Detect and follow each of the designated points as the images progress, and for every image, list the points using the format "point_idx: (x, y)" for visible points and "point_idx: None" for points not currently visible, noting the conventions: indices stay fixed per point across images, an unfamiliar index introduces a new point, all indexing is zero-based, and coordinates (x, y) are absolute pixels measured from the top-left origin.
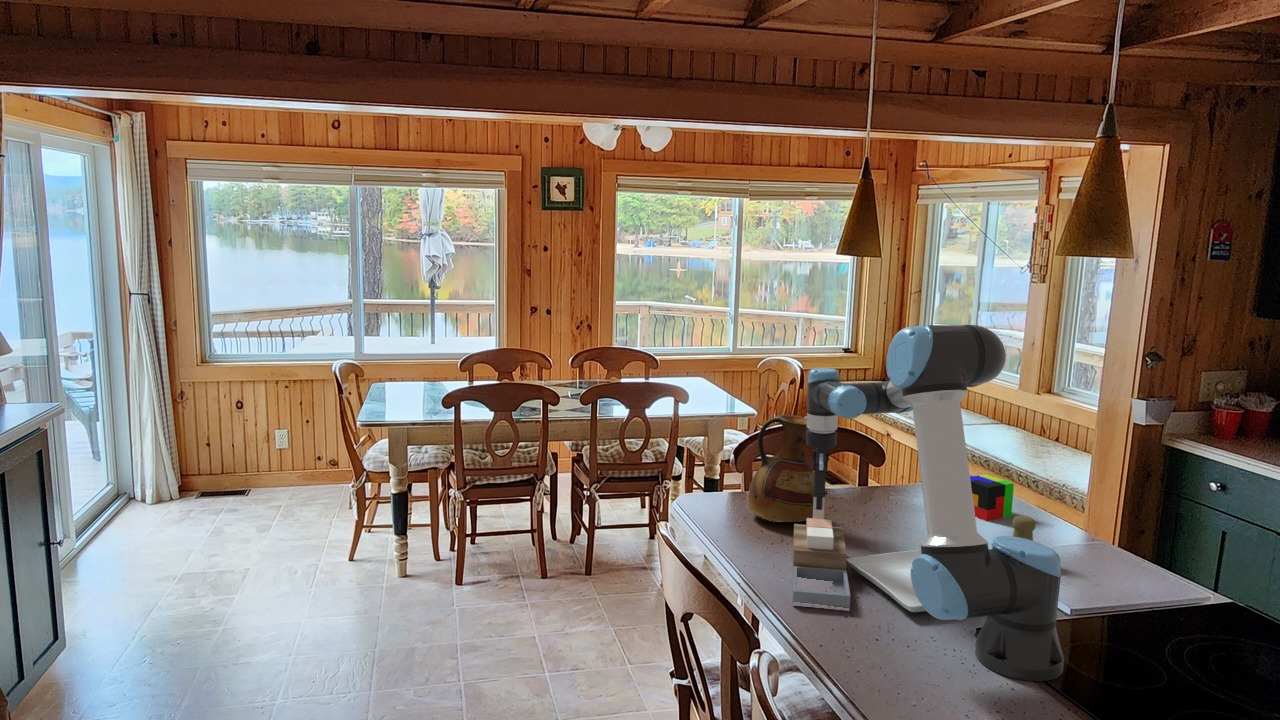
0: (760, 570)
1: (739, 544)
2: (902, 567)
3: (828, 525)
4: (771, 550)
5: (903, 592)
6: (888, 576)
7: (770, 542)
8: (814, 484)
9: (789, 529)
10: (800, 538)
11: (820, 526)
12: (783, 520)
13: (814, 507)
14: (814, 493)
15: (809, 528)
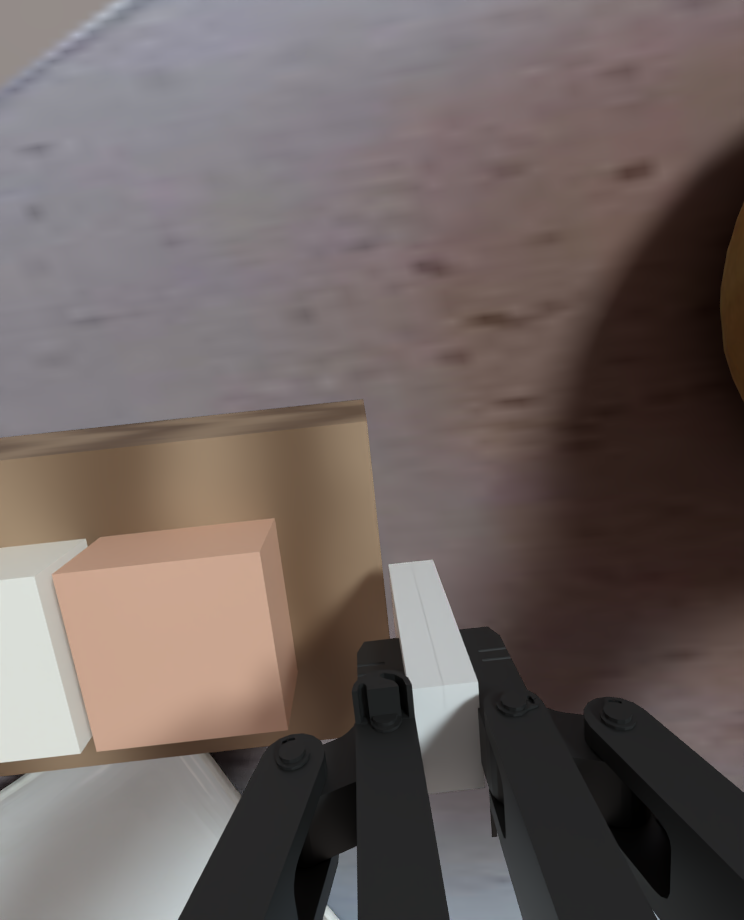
0: (3, 256)
1: (359, 57)
2: None
3: (140, 723)
4: (321, 278)
5: (5, 887)
6: (148, 835)
7: (447, 255)
8: (575, 766)
9: (688, 341)
10: (74, 498)
11: (91, 671)
12: (720, 300)
13: (398, 628)
14: (284, 759)
15: (4, 598)
